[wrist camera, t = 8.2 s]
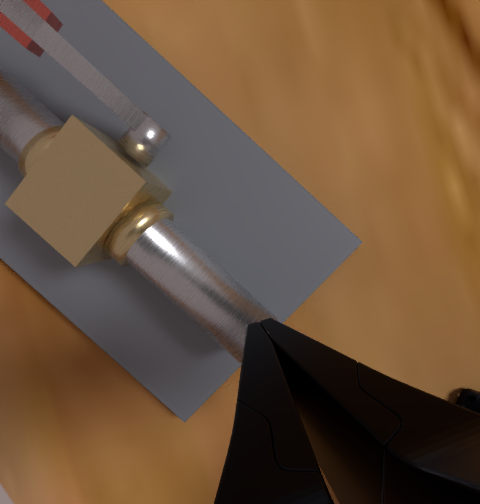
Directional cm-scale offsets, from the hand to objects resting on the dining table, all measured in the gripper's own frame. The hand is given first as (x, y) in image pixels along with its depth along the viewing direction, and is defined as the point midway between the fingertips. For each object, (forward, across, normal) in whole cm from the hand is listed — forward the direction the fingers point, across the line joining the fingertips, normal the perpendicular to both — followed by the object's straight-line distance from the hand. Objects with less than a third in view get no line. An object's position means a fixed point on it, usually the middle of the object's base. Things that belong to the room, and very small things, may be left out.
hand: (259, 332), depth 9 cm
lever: (+11, +2, -7) cm, 13 cm away
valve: (+14, +6, -4) cm, 15 cm away
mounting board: (+14, +6, -4) cm, 15 cm away
